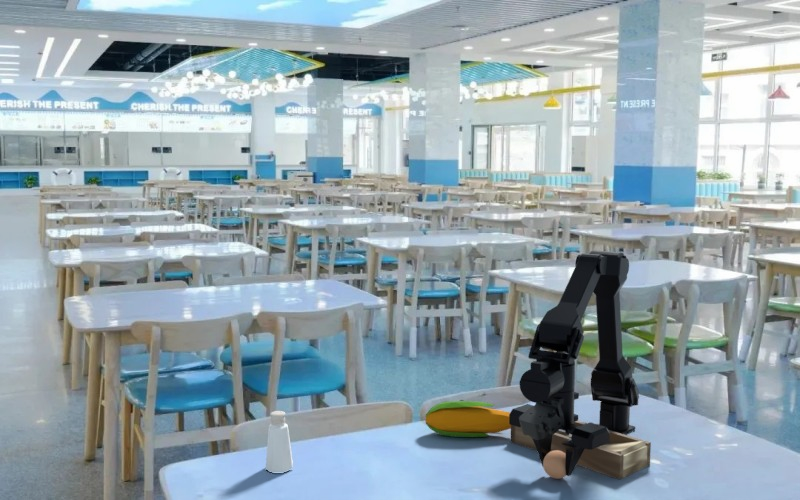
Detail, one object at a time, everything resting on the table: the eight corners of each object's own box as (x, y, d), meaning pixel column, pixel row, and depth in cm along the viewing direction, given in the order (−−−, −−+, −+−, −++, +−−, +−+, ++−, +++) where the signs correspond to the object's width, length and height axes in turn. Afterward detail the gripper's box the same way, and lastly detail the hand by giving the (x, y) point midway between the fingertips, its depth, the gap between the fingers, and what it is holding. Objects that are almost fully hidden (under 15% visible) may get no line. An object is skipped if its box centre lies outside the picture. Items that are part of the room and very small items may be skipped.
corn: (425, 393, 176) (519, 395, 175) (426, 427, 178) (519, 428, 176) (424, 407, 169) (522, 408, 167) (424, 441, 170) (521, 443, 169)
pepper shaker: (298, 465, 157) (297, 409, 156) (285, 476, 152) (284, 418, 151) (273, 461, 159) (271, 406, 157) (259, 472, 154) (257, 415, 152)
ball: (554, 470, 153) (554, 444, 153) (576, 477, 150) (576, 451, 149) (537, 477, 150) (537, 450, 150) (559, 485, 146) (559, 458, 146)
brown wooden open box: (541, 430, 175) (542, 408, 175) (649, 465, 156) (650, 440, 155) (510, 441, 169) (510, 418, 168) (619, 479, 149) (620, 453, 149)
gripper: (489, 385, 149) (488, 468, 151) (573, 409, 136) (571, 500, 138) (528, 374, 157) (527, 452, 159) (612, 395, 143) (610, 481, 145)
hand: (556, 471), depth 150 cm, fingers closed on ball, 5 cm apart
